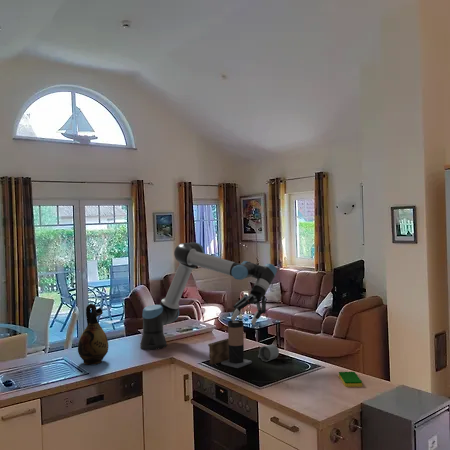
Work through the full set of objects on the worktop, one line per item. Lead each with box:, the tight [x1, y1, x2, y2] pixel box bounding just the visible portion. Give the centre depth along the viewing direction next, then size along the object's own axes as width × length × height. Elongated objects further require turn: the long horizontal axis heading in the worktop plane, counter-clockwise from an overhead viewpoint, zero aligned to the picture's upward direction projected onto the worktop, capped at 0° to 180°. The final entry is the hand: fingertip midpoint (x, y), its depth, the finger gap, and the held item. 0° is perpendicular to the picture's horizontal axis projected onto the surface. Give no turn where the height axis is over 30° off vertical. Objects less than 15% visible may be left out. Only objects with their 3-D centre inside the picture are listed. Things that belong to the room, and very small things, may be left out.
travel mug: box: [227, 319, 245, 363], centre depth 225 cm, size 8×8×20 cm
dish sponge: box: [338, 371, 363, 388], centre depth 195 cm, size 7×14×2 cm, turn 177°
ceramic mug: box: [257, 344, 280, 363], centre depth 231 cm, size 11×8×8 cm
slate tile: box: [220, 358, 253, 369], centre depth 225 cm, size 11×11×1 cm
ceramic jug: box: [77, 303, 109, 366], centre depth 234 cm, size 17×15×30 cm
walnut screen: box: [208, 338, 229, 366], centre depth 231 cm, size 19×3×10 cm, turn 137°
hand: (242, 321), depth 229 cm, fingers open, 13 cm apart
